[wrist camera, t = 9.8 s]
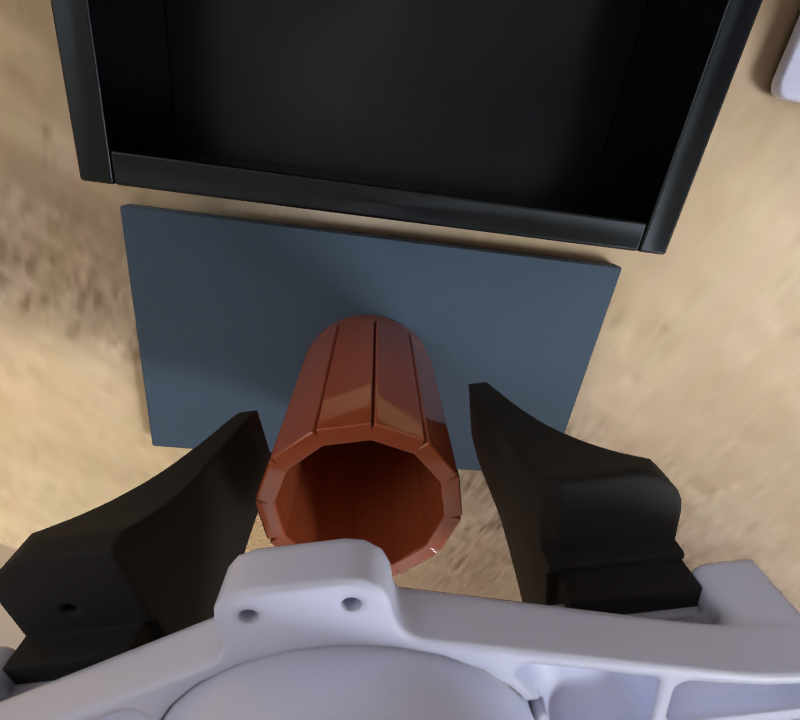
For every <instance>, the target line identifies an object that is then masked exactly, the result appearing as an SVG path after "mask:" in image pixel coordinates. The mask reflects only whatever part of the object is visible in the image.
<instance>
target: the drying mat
mask: <svg viewBox="0 0 800 720" xmlns="http://www.w3.org/2000/svg"><path fill="white" fill-rule="evenodd" d="M120 209H121V217H122V224H123V231H124V239H125V246H126V253H127V260H128V268H129V275H130V282H131V290H132V297H133V304H134V312H135V319H136V326H137V334H138V341H139V348H140V356H141V363H142V370H143V377H144V385H145V392H146V399H147V407H148V414H149V421H150V429H151V436H152V443H153V445H154V446H165V447H178V448H192V449H194V448H195V447H197V446H198V445H199V444H200V443H202V442H203V441H204V440H205V439H206V438H208V437H209V436H210V435H211V434H213V433H214V432H215V431H216V430H217V429H219V428H220V427H221V426H222V425H223V424H225V423H226V422H227V421H228V420H230V419H231V418H232V417H233V416H235V415H236V414H238V413H239V412H246V411H254V410H257V411H258V414H259V418H260V421H261V424H262V427H263V431H264V434H265V437H266V440H267V444H268V447H269V450H270V453H271V452H272V449H273V446H274V443H275V440H276V438H277V435H278V432H279V429H280V426H281V423H282V421H283V418H284V415H285V412H286V409H287V406H288V404H289V401H290V398H291V395H292V392H293V390H294V387H295V384H296V381H297V378H298V375H299V373H300V370H301V367H302V365H303V362H304V359H305V356H306V353H307V351H308V348H309V347H310V345H311V344H312V342H313V341H314V339H315V338H316V337H317V336H318V335H319V334H320V333H321V332H322V331H323V330H324V329H325V328H327V327H328V326H330V325H331V324H333V323H335V322H337V321H339V320H342V319H345V318H348V317H353V316H358V315H375V316H381V317H385V318H388V319H392V320H394V321H396V322H398V323H400V324H402V325H404V326H405V327H407V328H408V329H409V330H411V331H412V332H413V333H414V334H415V335H416V336H417V337H418V338H419V339H420V341H421V342H422V344H423V345H424V347H425V349H426V351H427V353H428V355H429V357H430V360H431V362H432V366H433V370H434V374H435V378H436V383H437V387H438V391H439V395H440V399H441V403H442V407H443V412H444V416H445V420H446V424H447V428H448V432H449V437H450V441H451V445H452V449H453V453H454V457H455V461H456V466H457V469H467V470H481V471H482V469H481V467H480V464H479V462H478V459H477V455H476V451H475V447H474V443H473V439H472V435H471V420H470V402H469V385H468V384H473V383H481V382H487V383H489V384H490V385H491V386H492V387H494V388H495V389H496V390H497V391H498V392H500V393H501V394H502V395H503V396H505V397H506V398H507V399H508V400H510V401H511V402H512V403H514V404H515V405H516V406H518V407H519V408H520V409H522V410H523V411H525V412H526V413H528V414H529V415H531V416H533V417H534V418H536V419H537V420H539V421H541V422H542V423H544V424H546V425H548V426H550V427H552V428H554V429H556V430H558V431H560V432H562V433H565V430H566V427H567V424H568V421H569V418H570V415H571V412H572V410H573V407H574V404H575V401H576V398H577V395H578V392H579V389H580V387H581V384H582V381H583V378H584V375H585V372H586V369H587V366H588V364H589V361H590V358H591V355H592V352H593V349H594V346H595V343H596V341H597V338H598V335H599V332H600V329H601V326H602V323H603V320H604V318H605V315H606V312H607V309H608V306H609V303H610V300H611V297H612V295H613V292H614V289H615V286H616V283H617V280H618V277H619V274H620V272H621V268H620V267H619V266H617V265H615V264H608V263H600V262H592V261H584V260H576V259H568V258H560V257H551V256H543V255H535V254H527V253H519V252H511V251H503V250H495V249H487V248H479V247H471V246H463V245H455V244H447V243H439V242H431V241H423V240H415V239H407V238H399V237H390V236H382V235H374V234H366V233H358V232H350V231H342V230H334V229H326V228H318V227H310V226H302V225H294V224H286V223H278V222H270V221H262V220H254V219H246V218H238V217H229V216H221V215H213V214H205V213H197V212H189V211H181V210H173V209H165V208H157V207H149V206H141V205H133V204H127V205H123V206H121V207H120Z"/></svg>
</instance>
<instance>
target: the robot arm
mask: <svg viewBox="0 0 800 720" xmlns="http://www.w3.org/2000/svg"><path fill="white" fill-rule="evenodd" d="M771 93H772V94H773V96H774V97H775V98H777V99H779V100H784V101H790V102H796V103H800V16H799V18H798V20H797V23H796V25H795V28H794V30H793V32H792V35H791V37H790V39H789V42H788V44H787V47H786V49H785V51H784V54H783V56H782V59H781V61H780V63H779V66H778V68H777V71H776V73H775V75H774V78H773V80H772V84H771ZM468 385H469V402H470V420H471V435H472V439H473V443H474V447H475V451H476V455H477V459H478V462H479V464H480V467H481V469H482V472H483V475H484V477H485V480H486V482H487V485H488V487H489V490H490V492H491V495H492V497H493V500H494V502H495V505H496V507H497V510H498V513H499V516H500V519H501V521H502V525H503V528H504V532H505V536H506V539H507V543H508V547H509V550H510V554H511V558H512V562H513V566H514V570H515V573H516V577H517V581H518V585H519V589H520V593H521V597H522V601H523V602H517V601H509V600H501V599H493V598H485V597H476V596H468V595H460V594H452V593H444V592H436V591H428V590H420V589H412V588H403V587H399V586H397V585H396V584H395V582H394V580H393V577H392V572H391V567H390V562H389V560H388V558H387V557H386V555H385V553H384V552H383V550H382V549H381V548H379V547H377V546H375V545H373V544H372V543H370V542H368V541H366V540H361V539H347V538H345V539H336V540H328V541H319V542H311V543H303V544H294V545H286V546H277V547H269V548H261V549H256V550H253V551H250V552H247V553H245V549H246V546H247V543H248V539H249V537H250V534H251V531H252V528H253V525H254V522H255V519H256V516H257V513H258V510H257V507H256V504H255V503H256V494H257V491H258V488H259V486H260V483H261V480H262V477H263V474H264V471H265V469H266V466H267V463H268V460H269V457H270V454H271V453H270V450H269V447H268V444H267V440H266V437H265V434H264V431H263V427H262V424H261V421H260V418H259V414H258V411H257V410H254V411H246V412H239V413H238V414H236V415H235V416H233V417H232V418H231V419H230V420H228V421H227V422H226V423H225V424H223V425H222V426H221V427H220V428H219V429H217V430H216V431H215V432H214V433H213V434H211V435H210V436H209V437H208V438H206V439H205V440H204V441H203V442H202V443H200V444H199V445H198V446H197V447H195V448H194V449H193V450H191V451H190V452H189V453H187V454H186V455H185V456H183V457H182V458H181V459H179V460H178V461H177V462H175V463H174V464H173V465H171V466H170V467H168V468H167V469H165V470H164V471H162V472H161V473H159V474H158V475H156V476H155V477H153V478H151V479H150V480H148V481H147V482H145V483H143V484H141V485H140V486H138V487H136V488H134V489H132V490H130V491H129V492H127V493H125V494H123V495H121V496H119V497H118V498H116V499H114V500H112V501H110V502H108V503H106V504H104V505H101V506H99V507H97V508H95V509H93V510H91V511H88V512H86V513H84V514H82V515H79V516H77V517H74V518H72V519H70V520H67V521H64V522H62V523H59V524H57V525H54V526H51V527H49V528H46V529H44V530H41V531H38V532H35V533H32V534H31V535H30V536H29V537H28V538H27V540H26V541H25V542H24V543H23V544H22V545H21V546H20V547H19V549H18V550H17V551H16V552H15V553H14V554H13V556H12V557H11V558H10V559H9V560H8V561H7V562H6V563H5V565H4V566H3V567H2V568H1V569H0V603H1V605H2V606H3V607H4V608H5V610H6V611H7V612H8V614H9V615H10V616H11V617H12V618H13V620H14V621H15V622H16V624H17V625H18V626H19V628H20V629H21V630H22V631H23V633H24V634H25V635H27V636H26V637H25V638H24V640H23V641H22V643H21V644H20V645H19V647H18V648H17V650H14V649H12V648H9V647H1V646H0V720H800V613H799V612H798V610H797V609H796V608H795V607H794V606H793V605H792V604H791V603H790V602H789V600H788V599H787V598H786V597H785V596H784V595H783V594H782V593H781V592H780V590H779V589H778V588H777V587H776V586H775V585H774V584H773V583H772V582H771V580H770V579H769V578H768V577H767V576H766V575H765V574H764V573H763V572H762V570H761V569H760V568H759V567H758V566H757V565H756V564H755V563H754V562H753V561H752V560H749V559H743V560H735V561H726V562H718V563H709V564H704V565H701V566H698V567H697V568H695V569H694V570H693V571H692V573H691V572H690V570H689V569H688V568H687V566H686V565H685V564H684V562H683V561H682V559H683V558H684V553H683V550H682V549H681V547H680V546H679V545H678V543H677V542H676V541H675V536H676V531H677V527H678V522H679V517H680V513H681V497H680V494H679V492H678V490H677V488H676V487H675V486H674V485H673V484H672V483H671V482H670V480H669V479H668V478H667V477H666V475H665V474H664V473H663V472H662V471H661V470H660V469H659V468H658V467H657V466H656V465H655V464H654V463H653V462H652V461H651V460H650V459H647V458H642V457H637V456H633V455H628V454H623V453H619V452H615V451H611V450H608V449H605V448H601V447H598V446H595V445H592V444H589V443H586V442H583V441H581V440H578V439H576V438H573V437H571V436H568V435H566V434H564V433H562V432H560V431H558V430H556V429H554V428H552V427H550V426H548V425H546V424H544V423H542V422H541V421H539V420H537V419H536V418H534V417H533V416H531V415H529V414H528V413H526V412H525V411H523V410H522V409H520V408H519V407H518V406H516V405H515V404H514V403H512V402H511V401H510V400H508V399H507V398H506V397H505V396H503V395H502V394H501V393H500V392H498V391H497V390H496V389H495V388H494V387H492V386H491V385H490V384H489V383H487V382H481V383H473V384H468Z"/></svg>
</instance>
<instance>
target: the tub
mask: <svg viewBox="0 0 800 720" xmlns="http://www.w3.org/2000/svg"><path fill="white" fill-rule="evenodd" d="M761 3H762V0H51V5H52V11H53V17H54V23H55V29H56V35H57V41H58V46H59V52H60V58H61V64H62V70H63V76H64V82H65V88H66V94H67V100H68V106H69V112H70V118H71V123H72V129H73V135H74V141H75V147H76V153H77V159H78V165H79V171H80V177H81V179H82V180H84V181H91V182H99V183H107V184H118V185H123V186H131V187H139V188H147V189H154V190H162V191H170V192H178V193H186V194H194V195H201V196H209V197H217V198H225V199H233V200H241V201H248V202H256V203H264V204H272V205H280V206H288V207H295V208H303V209H311V210H319V211H327V212H334V213H342V214H350V215H358V216H366V217H374V218H381V219H389V220H397V221H405V222H413V223H421V224H428V225H436V226H444V227H452V228H460V229H468V230H475V231H483V232H491V233H499V234H507V235H514V236H522V237H530V238H538V239H546V240H554V241H561V242H569V243H577V244H585V245H593V246H601V247H608V248H616V249H624V250H632V251H636V250H637V251H640V252H647V253H655V254H665V252H666V250H667V247H668V244H669V242H670V239H671V237H672V234H673V231H674V229H675V226H676V224H677V221H678V218H679V216H680V213H681V211H682V208H683V205H684V203H685V200H686V198H687V195H688V192H689V190H690V187H691V185H692V182H693V179H694V177H695V174H696V172H697V169H698V166H699V164H700V161H701V159H702V156H703V153H704V151H705V148H706V146H707V143H708V141H709V138H710V135H711V133H712V130H713V128H714V125H715V122H716V120H717V117H718V115H719V112H720V109H721V107H722V104H723V102H724V99H725V96H726V94H727V91H728V89H729V86H730V83H731V81H732V78H733V76H734V73H735V70H736V68H737V65H738V63H739V60H740V57H741V55H742V52H743V50H744V47H745V44H746V42H747V39H748V37H749V34H750V31H751V29H752V26H753V24H754V21H755V18H756V16H757V13H758V11H759V8H760V5H761Z"/></svg>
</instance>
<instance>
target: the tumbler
mask: <svg viewBox="0 0 800 720" xmlns="http://www.w3.org/2000/svg"><path fill="white" fill-rule="evenodd" d="M255 504H256V507H257V510H258V513H259V515H260V518H261V521H262V524H263V527H264V530H265V533H266V536H267V538H268V539H271V540H270V542H271V543H272V544H273V545H274V546H276V547H277V546H286V545H294V544H303V543H311V542H319V541H328V540H336V539H345V538H347V539H361V540H366V541H368V542H370V543H372V544H373V545H375V546H377V547H379V548H381V549H382V550H383V552H384V553H385V555H386V557H387V558H388V560H389V562H390V567H391V572H392V576H393V575H397V573H398V572H400V573H403V572H405V571H407V570H409V569H411V568H412V567H414V566H416V565H418V564H420V563H421V562H423V561H425V560H427V559H429V558H431V557H432V556H434V555H436V554H437V550H438V551H440V550H441V549H442V548H443V546H444V545H445V543H446V542H447V540H448V539H449V537H450V535H451V534H452V532H453V531H454V529H455V528H456V526H457V525H458V523H459V522H460V520H461V517H460V516H461V515H462V503H461V490H460V478H459V474H458V470H457V466H456V461H455V457H454V453H453V449H452V445H451V441H450V437H449V432H448V428H447V424H446V420H445V416H444V412H443V407H442V403H441V399H440V395H439V391H438V387H437V383H436V378H435V374H434V370H433V366H432V362H431V360H430V357H429V355H428V353H427V351H426V349H425V347H424V345H423V344H422V342H421V341H420V339H419V338H418V337H417V336H416V335H415V334H414V333H413V332H412V331H411V330H409V329H408V328H407V327H405V326H404V325H402V324H400V323H398V322H396V321H394V320H392V319H388V318H385V317H381V316H375V315H358V316H353V317H348V318H345V319H342V320H339V321H337V322H335V323H333V324H331V325H330V326H328V327H327V328H325V329H324V330H323V331H322V332H321V333H320V334H319V335H318V336H317V337H316V338H315V339H314V341H313V342H312V344H311V345H310V347H309V348H308V351H307V353H306V356H305V359H304V362H303V365H302V367H301V370H300V373H299V375H298V378H297V381H296V384H295V387H294V390H293V392H292V395H291V398H290V401H289V404H288V406H287V409H286V412H285V415H284V418H283V421H282V423H281V426H280V429H279V432H278V435H277V438H276V440H275V443H274V446H273V449H272V452H271V454H270V457H269V460H268V463H267V466H266V469H265V471H264V474H263V477H262V480H261V483H260V486H259V488H258V491H257V494H256V503H255Z"/></svg>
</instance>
